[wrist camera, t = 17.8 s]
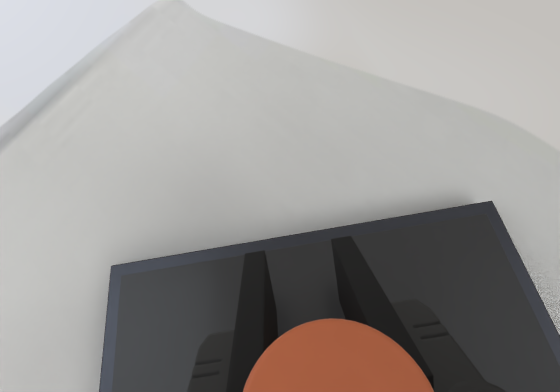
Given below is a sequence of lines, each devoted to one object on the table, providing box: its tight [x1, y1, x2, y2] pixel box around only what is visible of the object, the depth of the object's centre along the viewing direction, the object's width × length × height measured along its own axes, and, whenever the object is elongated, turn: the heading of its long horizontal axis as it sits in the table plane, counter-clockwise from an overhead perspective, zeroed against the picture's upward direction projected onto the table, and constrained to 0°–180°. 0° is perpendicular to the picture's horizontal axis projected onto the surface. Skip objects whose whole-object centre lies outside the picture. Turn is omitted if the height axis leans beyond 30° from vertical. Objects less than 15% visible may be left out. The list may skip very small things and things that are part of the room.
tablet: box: [99, 201, 560, 392], centre depth 14 cm, size 20×14×1 cm
